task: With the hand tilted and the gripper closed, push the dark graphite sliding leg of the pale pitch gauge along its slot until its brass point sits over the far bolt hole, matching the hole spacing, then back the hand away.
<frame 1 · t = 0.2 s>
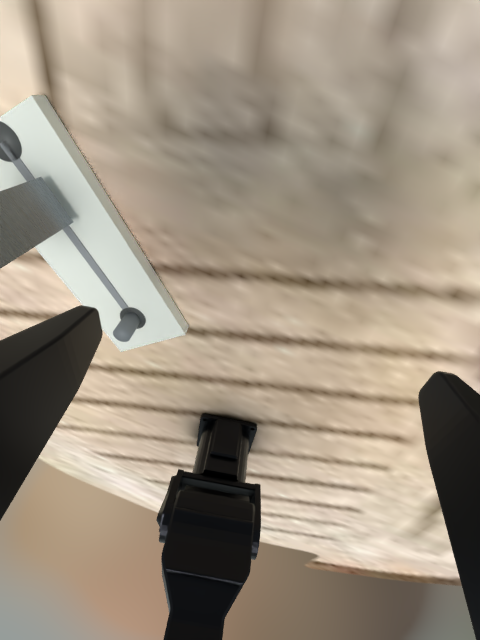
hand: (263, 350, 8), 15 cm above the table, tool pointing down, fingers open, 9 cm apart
bolt plate: (95, 249, 24), on the table
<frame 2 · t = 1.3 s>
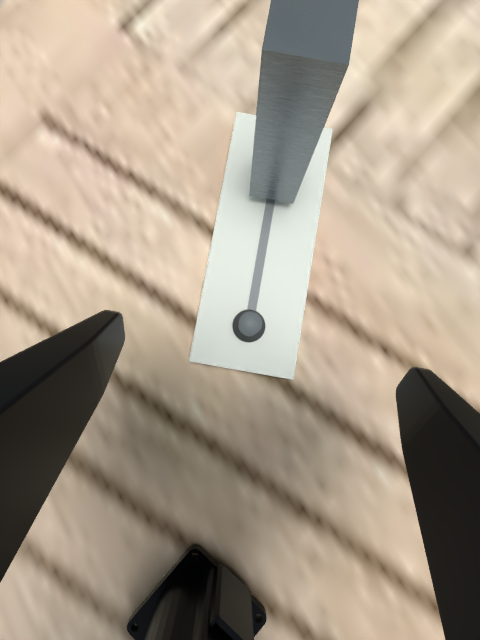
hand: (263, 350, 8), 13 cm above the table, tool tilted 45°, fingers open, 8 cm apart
sliding leg: (286, 128, 16), point 7 cm above the table, slide at 0.0 cm
bolt plate: (262, 246, 22), on the table
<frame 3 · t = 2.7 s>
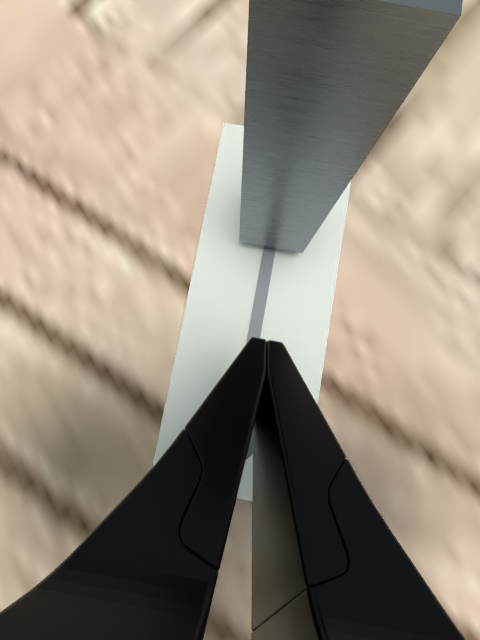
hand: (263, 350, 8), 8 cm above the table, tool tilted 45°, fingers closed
sliding leg: (296, 150, 10), point 7 cm above the table, slide at 0.0 cm
bolt plate: (257, 306, 16), on the table
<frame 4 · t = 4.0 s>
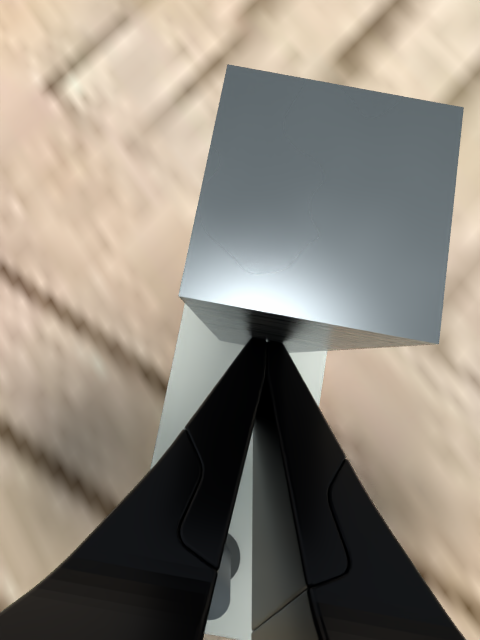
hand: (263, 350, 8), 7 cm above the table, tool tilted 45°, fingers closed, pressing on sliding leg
sliding leg: (272, 291, 9), point 7 cm above the table, slide at 0.7 cm, touching gripper
bolt plate: (239, 411, 15), on the table
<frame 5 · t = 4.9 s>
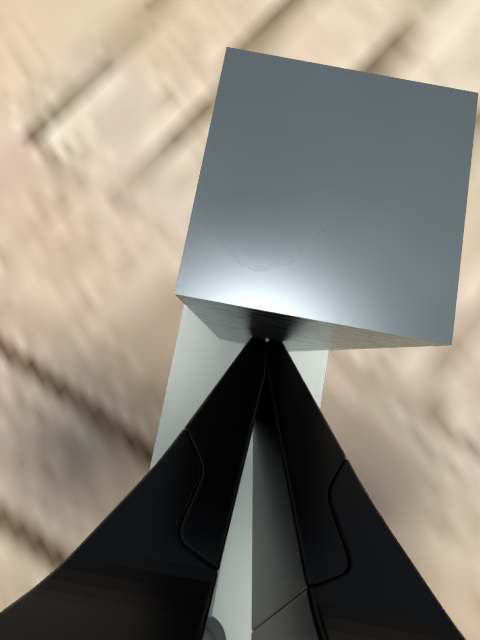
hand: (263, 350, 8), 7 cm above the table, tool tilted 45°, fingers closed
sliding leg: (273, 288, 9), point 7 cm above the table, slide at 4.0 cm
bolt plate: (227, 480, 15), on the table
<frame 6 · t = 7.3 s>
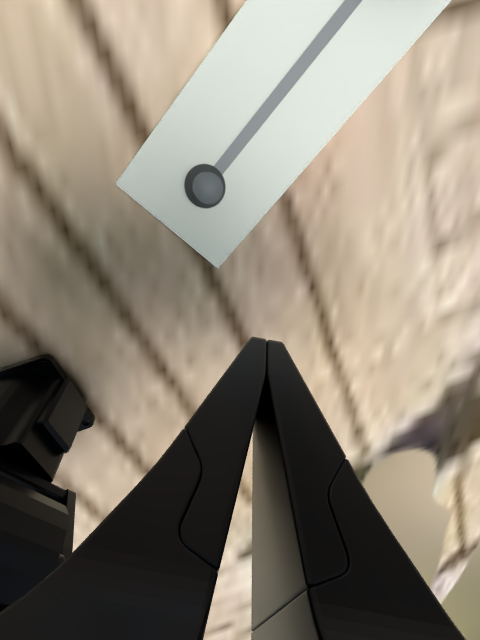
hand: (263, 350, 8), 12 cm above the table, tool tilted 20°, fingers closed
bolt plate: (275, 94, 16), on the table
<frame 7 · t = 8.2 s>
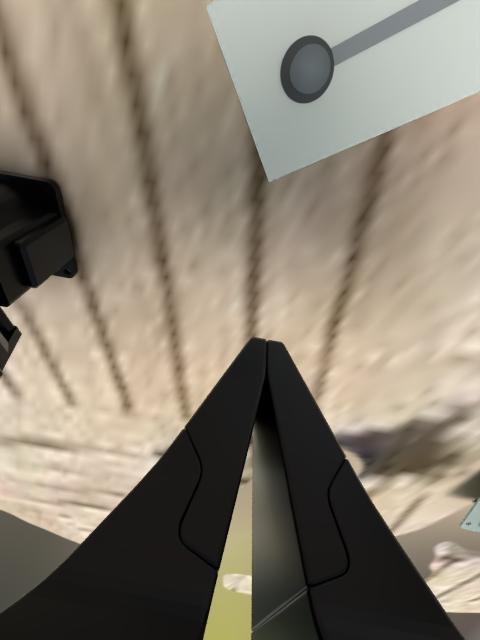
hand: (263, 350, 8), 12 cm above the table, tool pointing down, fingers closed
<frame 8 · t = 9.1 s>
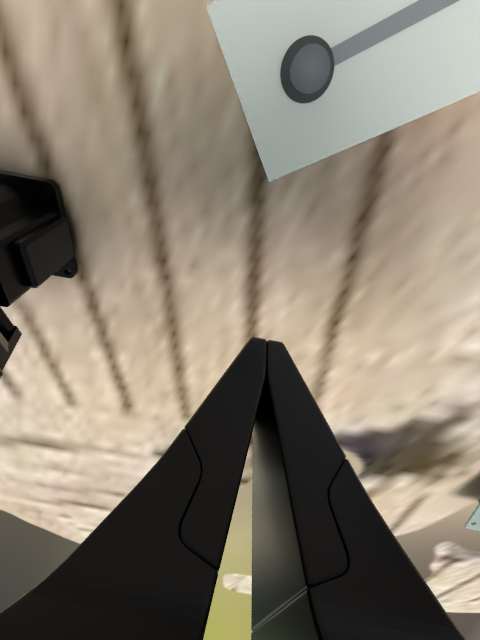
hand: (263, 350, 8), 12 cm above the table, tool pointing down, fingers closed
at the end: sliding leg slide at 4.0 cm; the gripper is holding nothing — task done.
